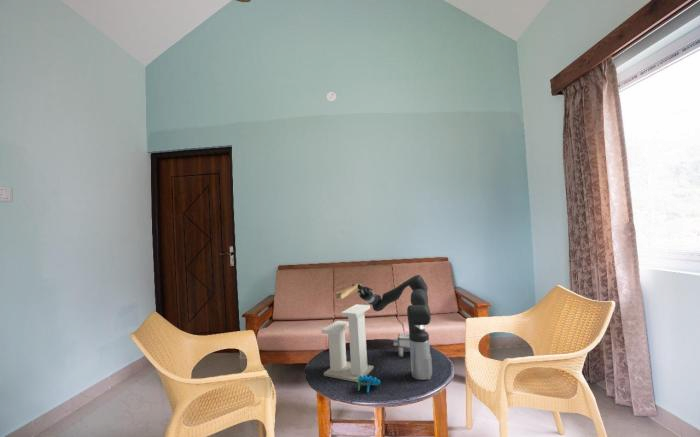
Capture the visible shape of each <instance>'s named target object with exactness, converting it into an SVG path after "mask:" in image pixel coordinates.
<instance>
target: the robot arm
mask: <svg viewBox="0 0 700 437" xmlns="http://www.w3.org/2000/svg"><path fill="white" fill-rule="evenodd" d="M357 284H358V288H359V289H360V290H359V291H357V292H356V294H358V295H359V298H360V299H362V300H363V301H364V302H366V303H368V305H370V306H371V307H372V310H374V312H382V310H384V309H385V308H386V307H387V306H388V305H389V304H391V303H394V302H396V301H398V299H400V297H401V296H402V294H403V292H404V291H405V289H406V288H408V287H410V290H412V292H411V294H410V304H411V305H410V304H409V305H408V306H407V308H406V309H407V310H406V312H407V314H406V315H407V322H408V324H407V325H408V334H409V340H410V348H409V352H410V353H409V354H410V356H409V357H410V370H411V377H412V378H414V379H416V380H420V381H423V380H424V381H425V380H428V381H429V380H431V378H432V376H433V363H432V362H433V361H432V359H433V358H432V354H431V350H430V349H431V348H430V347H431V346H430V337H429V336H430V335H429V333H428V332H427V331H426V330H425V331H424V330H421V329H419V328H417V327H416V326H415V325H424V326H428V325H429V324H430V322H431V318H432V316H431V310H430V306H429V296H428V285H427V283H426V281H425V280H424V279H423V277H422V275H420V274H416V275H414V276H412V277H410V278H409V279H406V280H405V281H403V282H401V284H399V285H398V286H397V287H395V288H392V289H391V290H389V291H386V292H385V293H383V294H382V296H381V295H380V294H375V292H374V291H373V289H372V288H370V287H368V286H363V285H362V286H361V285H360V284H361V283H357ZM354 285H356V284H352V286H354Z"/></svg>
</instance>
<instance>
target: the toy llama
mask: <svg viewBox="0 0 700 437" xmlns="http://www.w3.org/2000/svg"><path fill="white" fill-rule="evenodd" d="M415 326H416V327H417V328H419V329H421V330H424V331H426V329H425V325H415ZM393 346H396V347H397V350H398V351H397V352H398V353H397V354H398V358H403V357H404V350H405V349H407V348H408V349H410V340H409V333H397V339H393Z"/></svg>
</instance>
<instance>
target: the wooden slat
mask: <svg viewBox="0 0 700 437" xmlns="http://www.w3.org/2000/svg"><path fill="white" fill-rule="evenodd" d="M358 284H360V285H361V286H363V284H362V283H356V284H355V285H354V286H349V287H347V288H344V289H342V290H340V291H337V292H335V294H336V295H335V296H336V299H338V300H342V299H344V298H347V297H349V296H350V295H352V294H355V293H357V291H359V290H360V289H359V288H358Z"/></svg>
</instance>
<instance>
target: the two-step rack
mask: <svg viewBox="0 0 700 437" xmlns="http://www.w3.org/2000/svg"><path fill="white" fill-rule="evenodd" d="M370 309H371V304H358V303H356V304H354V305H352V306H350V307H349V308H347V309H346V310H343V311H341V312H340V313H341V317H347V320H348V321H345V320H336V321H333V323H331V324H329V325H327V326H325V327H324V328H322V329H321V334H326V335H328V347H329V348H328V349H329V366H330V368H328V369H327V370H325V371H324V372H323V376H324V377H327V378H328V377H329V378H334V379H339V380H345V381H348V382H349V381H350V382H352V383H353V382H354V383H357V382H356V379H358V377H360V376H363V377H364V375H366V376H367V377H368V376H369V374H370V373H371V372H372V371H373V370H374V368H375V367H374V365H370V364H368V355H367V353H368V352H367V336H366V335H367V334H366V317H365V313H366V312H367V311H368V310H370ZM346 328H348V334H349V339H348V340H349V353H350V361H349V360H348V361H347V350H346V334H345V333H346V332H345V330H346Z"/></svg>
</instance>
